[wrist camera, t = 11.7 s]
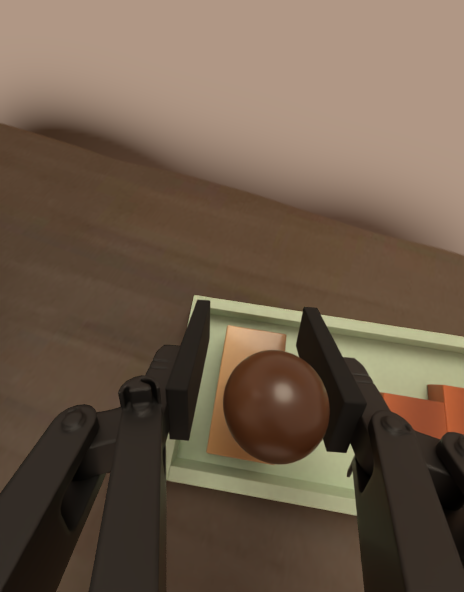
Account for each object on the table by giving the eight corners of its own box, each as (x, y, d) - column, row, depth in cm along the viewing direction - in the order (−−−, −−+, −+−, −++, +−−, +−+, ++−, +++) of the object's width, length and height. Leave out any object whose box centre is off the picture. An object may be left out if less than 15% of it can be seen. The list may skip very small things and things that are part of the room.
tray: (164, 465, 17) (153, 478, 15) (197, 304, 21) (194, 294, 19) (522, 531, 16) (569, 555, 14) (492, 350, 20) (527, 346, 18)
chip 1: (372, 454, 17) (385, 460, 16) (371, 391, 18) (383, 392, 17) (432, 464, 17) (451, 472, 15) (427, 400, 18) (444, 402, 17)
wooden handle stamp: (209, 442, 17) (151, 623, 4) (227, 332, 20) (223, 243, 7) (268, 452, 17) (382, 669, 4) (279, 340, 19) (374, 265, 7)
